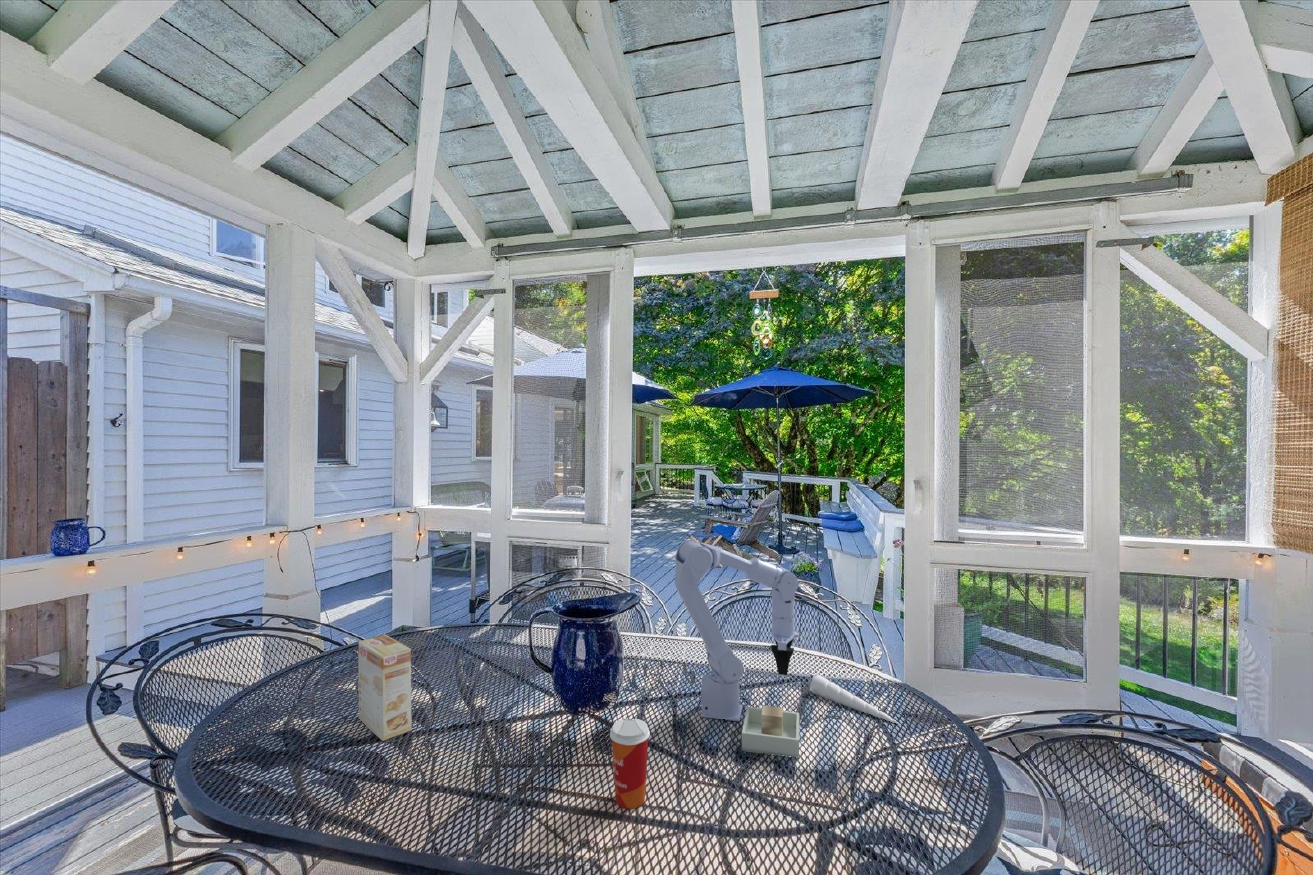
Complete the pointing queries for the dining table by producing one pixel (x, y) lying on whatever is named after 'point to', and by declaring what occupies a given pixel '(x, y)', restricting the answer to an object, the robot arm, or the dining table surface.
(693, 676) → the dining table surface
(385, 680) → the coffeecake box
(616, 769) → the paper cup
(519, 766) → the dining table surface
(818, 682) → the unicorn horn
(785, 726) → the bin
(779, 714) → the birch block
